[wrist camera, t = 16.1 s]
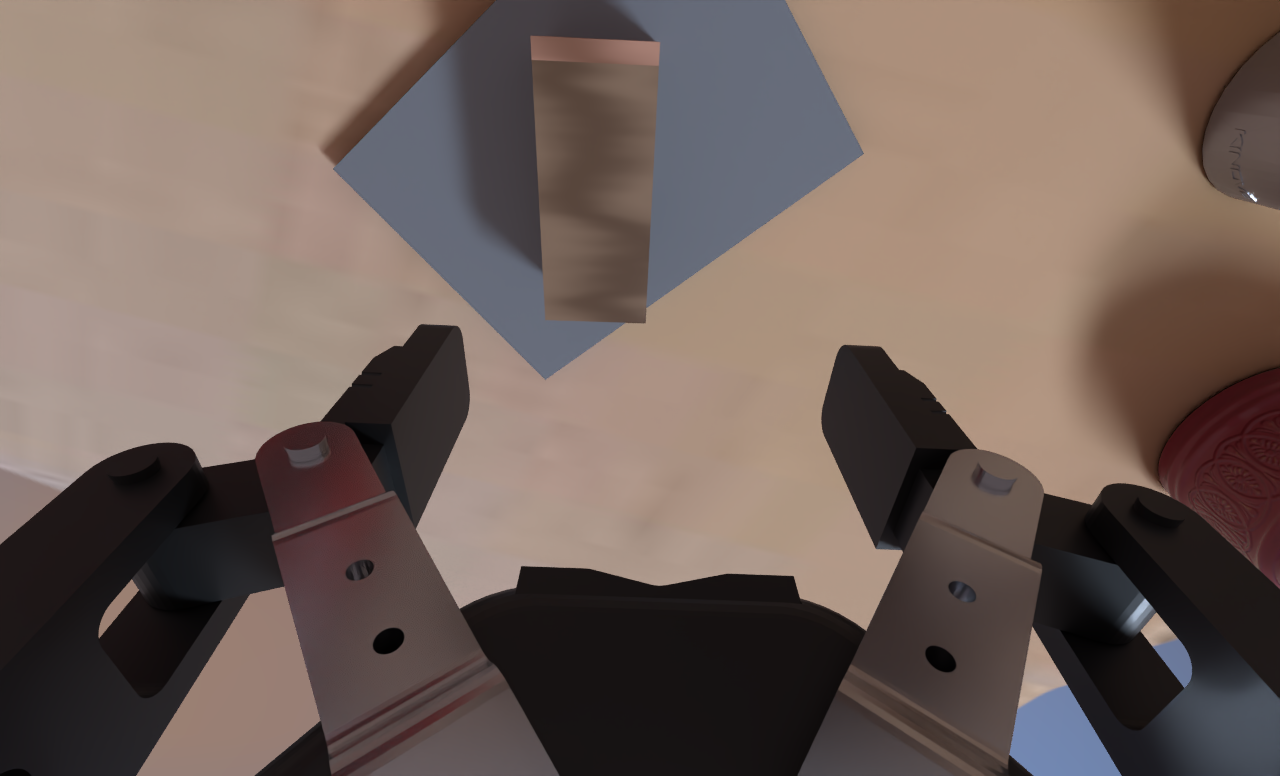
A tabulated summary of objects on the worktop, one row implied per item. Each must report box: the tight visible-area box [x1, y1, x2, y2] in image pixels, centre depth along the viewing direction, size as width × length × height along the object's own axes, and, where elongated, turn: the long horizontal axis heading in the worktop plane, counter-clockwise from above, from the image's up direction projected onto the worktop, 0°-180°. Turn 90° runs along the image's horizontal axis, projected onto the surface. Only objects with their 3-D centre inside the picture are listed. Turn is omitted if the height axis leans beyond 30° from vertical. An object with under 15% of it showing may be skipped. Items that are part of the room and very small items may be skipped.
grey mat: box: [333, 0, 864, 380], centre depth 29 cm, size 22×16×1 cm
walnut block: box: [530, 36, 660, 323], centre depth 27 cm, size 5×5×12 cm
